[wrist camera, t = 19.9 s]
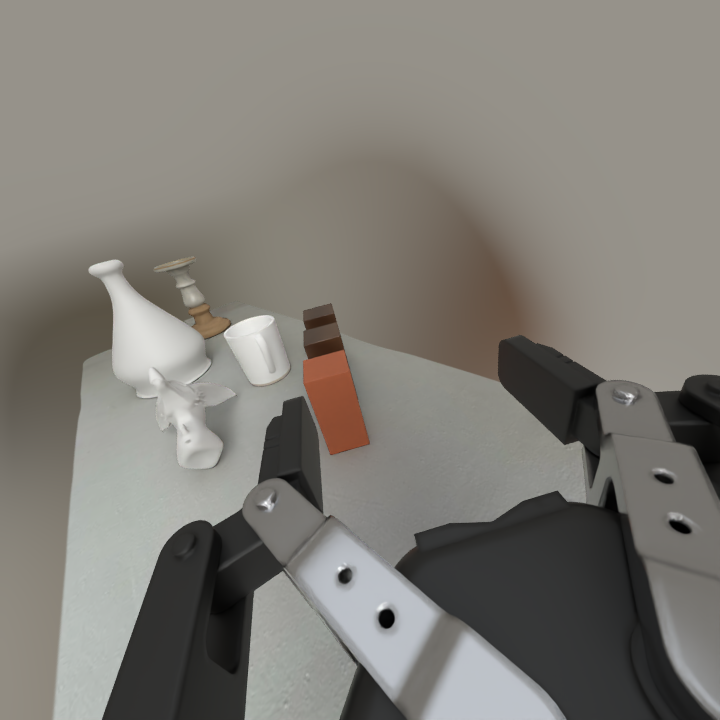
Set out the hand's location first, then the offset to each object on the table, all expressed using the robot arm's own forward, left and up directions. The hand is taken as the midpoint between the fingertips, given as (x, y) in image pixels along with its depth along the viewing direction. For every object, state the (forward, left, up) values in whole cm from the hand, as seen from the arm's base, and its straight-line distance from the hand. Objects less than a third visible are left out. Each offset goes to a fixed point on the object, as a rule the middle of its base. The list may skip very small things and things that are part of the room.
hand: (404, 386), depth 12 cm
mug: (+16, -41, -20) cm, 48 cm away
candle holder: (+38, -78, -20) cm, 89 cm away
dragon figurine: (+24, -26, -20) cm, 41 cm away
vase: (+39, -53, -20) cm, 69 cm away
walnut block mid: (+4, -29, -20) cm, 35 cm away
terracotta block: (+5, -20, -20) cm, 28 cm away
